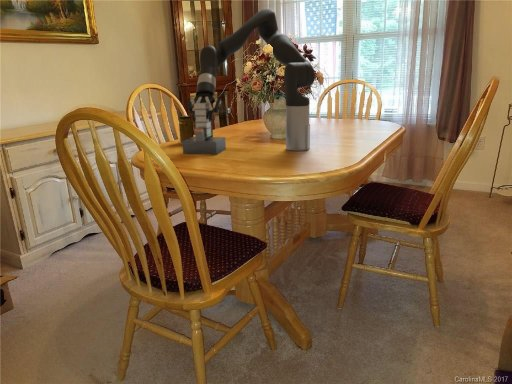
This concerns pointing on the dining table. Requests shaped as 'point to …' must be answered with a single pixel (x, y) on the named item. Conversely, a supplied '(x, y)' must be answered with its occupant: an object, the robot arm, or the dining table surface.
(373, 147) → the dining table surface
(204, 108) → the column
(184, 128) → the condiment
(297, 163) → the dining table surface
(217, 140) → the stand base
